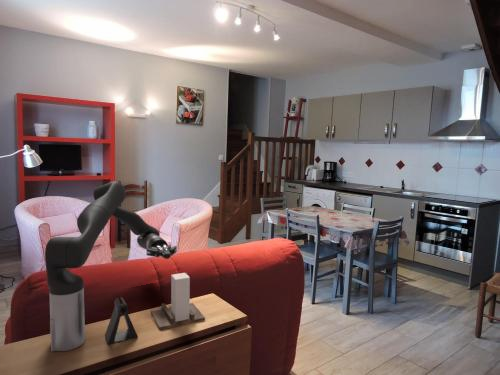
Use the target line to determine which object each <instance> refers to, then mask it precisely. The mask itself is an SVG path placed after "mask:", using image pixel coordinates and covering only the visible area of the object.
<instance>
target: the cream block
mask: <svg viewBox="0 0 500 375" xmlns="http://www.w3.org/2000/svg"><path fill="white" fill-rule="evenodd" d="M170 276H171V278H170V279H171V281H170V282H171V283H170V284H171V285H170V287H171V288H170V289H171V292H170V295H171V296H170V298H171V299H170V307H171V313H172V315H173V316H174V318H175V322H177V321H182V320H187V319H189V308H190V303H191V302H190V297H191V295H190V294H191V293H190V292H191V291H190V289H191V287H190V286H191V282H190V281H191V278H190V276H189V275H188V274H187V272H182V273H181V272H180V273H175V274H171V275H170Z"/></svg>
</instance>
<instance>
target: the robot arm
mask: <svg viewBox="0 0 500 375" xmlns="http://www.w3.org/2000/svg"><path fill="white" fill-rule="evenodd" d="M92 194H93V199H94V200H93V201H92V202H91V203H89V204H88V205H86V206H85V207H84V209H83V210H82V211H81V212H80V213H79V215H78V217H77V219H76V225H77V229H78V231H79V233H80V235H79V236H53V237H51V238H50V239H49V240H48V241H47V243H46V244H45V245H46V246H45V251H44V262H45V270H46V282H47V286H48V292H49V293H48V294H49V296H48V297H49V316H50V317H49V332H50V349H51V350H50V351H51V352H55V351H56V352H67V351H72V350H75V349H77V348H79V347H81V346H82V345H83V344H84V343H85V341H86V330H85V329H86V326H85V325H86V324H85V321H86V320H85V294H84V293H85V286H84V284H85V283H84V279H83V277H82V276H81V275H80V276H79V275H78V274H76V273H73V272H71V271H69V270H68V269H79V268H82V267H83V266H84V265H85V264H86V262H87V260H88V258H89V257H90V254H91V252H92V250H93V247H94V246H95V243H96V242H97V239H98V238H99V237H100V235H101V233H102V231H103V230H104V229H105V227H106V226H107V224H108V222H109V220H110V219H111V217H114V218H116V219H117V220H119V221H120V222H121V223H123V224H124V226H126V227H127V228H128V229H129V230H130V232H131V233H132V234H133V235H135V236H138V237H137V239H136V242H137V244H138V246H139V247H141V248H142V249H144V250H146V256H149V257H154V258H155V257H156V258H160V257H161V258H164V260H169V259H170V258H171V256H174V254H176V253H177V252H178V246H177V245H174V246H171V245H169V244H168V242H167V241H166V240H165V239H163V237H161V236H160V231H159V230H158V229H157V228H156V227H154V226H151V225H150V224H148V223H147V222H146V221H145V220H144V219H143V218H142V217H141V216H140V215H139V214H138V213H137V212H134V211H132V210H129V209H126V208H124V207H122V206H121V204H122V203H124V201H125V199H126V197H127V196H126V195H127V193H126V188H125V186H124V184H123V183H121V182H120V181H117V180H116V181H110V182H107V183H105V184H103V185H99V186H98V187H96V188H94V190H93V193H92Z"/></svg>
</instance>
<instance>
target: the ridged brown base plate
mask: <svg viewBox="0 0 500 375" xmlns="http://www.w3.org/2000/svg"><path fill="white" fill-rule="evenodd" d="M150 315H151V316H152V319H153V320H154V322H155V324H156V326H157V327H158V330H160V331H161V330H165V329H166V330H167V329H171V328H175V327H179V326H185V325H189V324H194V323H198V322H202V321H205V320H206V317H205V316H204V315H203V313H202V312H201V311H200V309H198V308H197V306H196V305H195V304H194V302H190V308H189V319H187V320H182V321H177V322H175V318H174V316H173V315H172V313H171V306H169V307H168V306H167V304H166V303H164V302H163V303H161V309H160V308H159V309H154V310H151V311H150Z"/></svg>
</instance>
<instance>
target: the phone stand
mask: <svg viewBox="0 0 500 375" xmlns="http://www.w3.org/2000/svg"><path fill="white" fill-rule="evenodd" d="M119 299H120V300H121V302H122V303H121V302H120V300H119ZM128 308H129V307H128V304H127V303H126V301H125V299H124V298H123V297H121V296H120V298H118V297H116V298H115V300H114V307H113V311H112V313H111V317H110V320H109V323H108V325H107V327H106V331H105V333H104V336H105V339H106V343H107V345H108V346H109V345H115V344H118V343H122V342H126V341H130V340H134V339H138V334H137V331H136V328H135V327H134V325H133V322H132V320H131V317H130V315H129V312H128V310H129V309H128ZM122 316H123V317H124V320H125V324H126V327H127V329H125V330H120V331H118V328H119V325H120V320H121V317H122Z"/></svg>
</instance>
